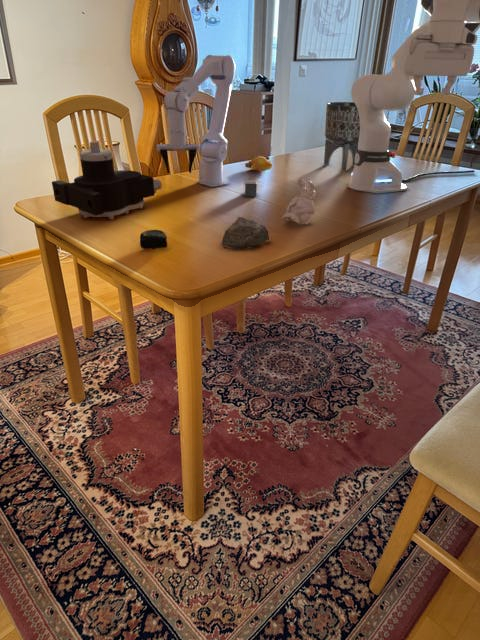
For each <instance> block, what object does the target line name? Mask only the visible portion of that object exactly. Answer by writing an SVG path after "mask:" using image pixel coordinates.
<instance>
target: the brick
mask: <svg viewBox="0 0 480 640" xmlns="http://www.w3.org/2000/svg"><path fill="white" fill-rule="evenodd" d="M257 186H258V185H257V182H256V180H243V195H244V197H245V198H257V191H258V190H257V188H258V187H257Z"/></svg>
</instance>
